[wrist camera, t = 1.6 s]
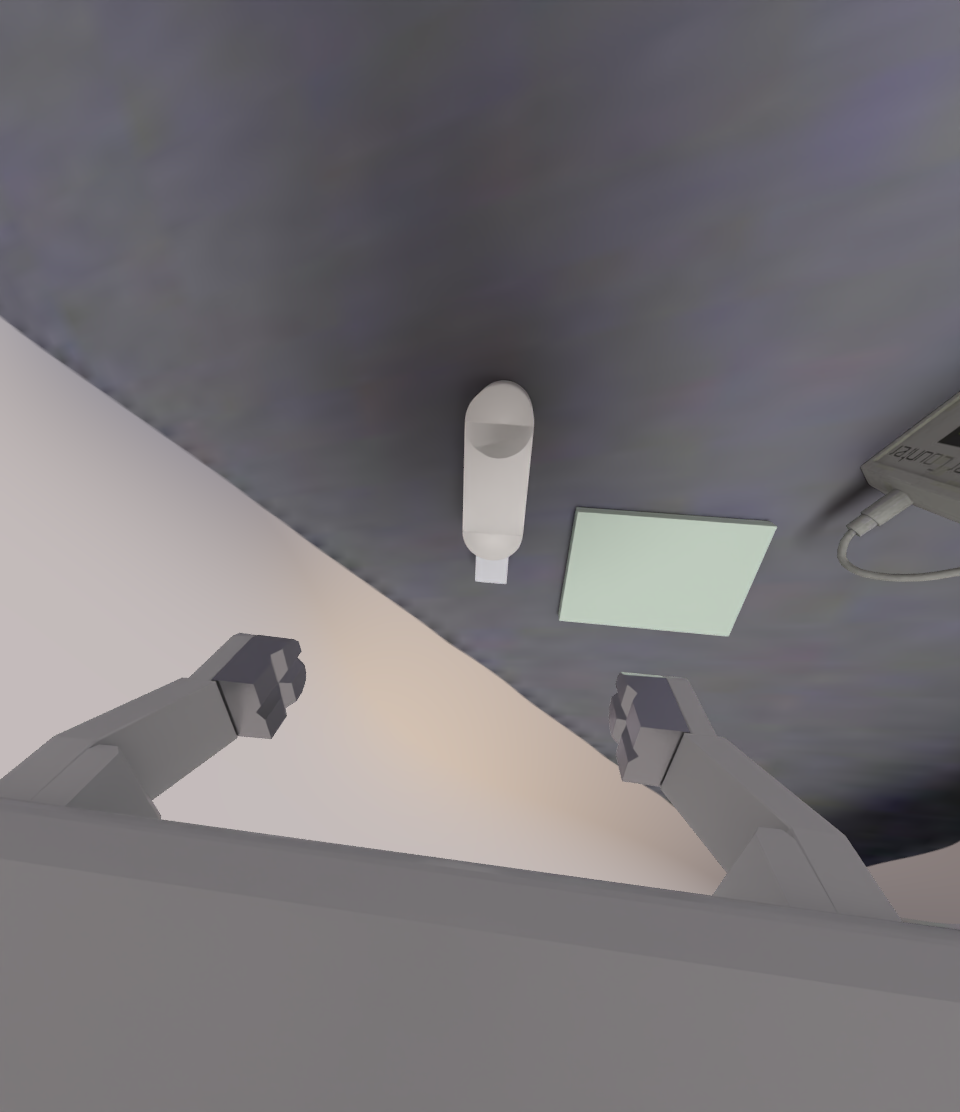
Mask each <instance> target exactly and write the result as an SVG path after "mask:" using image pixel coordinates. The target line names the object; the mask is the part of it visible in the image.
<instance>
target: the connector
mask: <svg viewBox="0 0 960 1112" xmlns="http://www.w3.org/2000/svg"><path fill="white" fill-rule="evenodd" d="M533 431H534V415H533V408H532V403H531V399H530V397H529V395H528V393H527V392H526V391H525V389H524V388H523V387H521V386H520V385H519V384H517V383H515V382H512V381H508V380H500V381H496V382H493V383H491V384H489V385H488V386H486V387H485V388H484V389H483V390H482V391H481V392H480V393H479V394H478V395H476V396H475V398H474V399H473V400H472V401H471V403H470V405H469V407H468V409H467V412H466V416H465V439H464V488H463V539H464V542H465V544H466V546H467V547H468V549H469V550H470V551H471V552H472V553H473V554H475V555H476V572H475V581H477V582H489V583H500V584H506V581H507V569H508V558H509V556H511V555H512V554H513V553H514V552H515V551H516V550H517V549H518V548H519V546H520V544H521V542H522V537H523V528H524V519H525V509H526V499H527V489H528V480H529V470H530V460H531V450H532V441H533Z"/></svg>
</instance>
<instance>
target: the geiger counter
mask: <svg viewBox="0 0 960 1112" xmlns="http://www.w3.org/2000/svg"><path fill="white" fill-rule="evenodd" d="M861 469H862V472H863V474H864V476H865V478H866V480H867V482H868V484H869V485H871V486H872V487H874V488H876V489H878V490H879V491H881V492H883V493H884V494H886V495H885V496H883V497H882V498H880V499H879V500H878V501H876V502H875V503H873V504H872V505H871V506H869V507H868V508H866V509H865V510H863V511H862V512H861V514H862V515H860V516H859V517H857V518H856V519H855V520H853V521H852V522H850V523H849V524H847V525H846V527H847V528H848V529H849V530H848V531H847V532H846V533H845V535H844V536H843V538H842V539H841V540H840V543H839V546H838V550H837V558H838V560H839V562H840V563H841V565H842V566H843V567H844V568H846V569H847V570H848V571H850V572H852V573H854V574H856V575H859V576H862V577H867V578H872V579H878V580H885V581H927V580H936V579H943V578H949V577H955V576H960V567H959V568H953V569H948V570H943V571H937V572H929V573H921V574H886V573H878V572H872V571H867V570H863V569H860V568H858V567H856V566H854V565H853V564H851V563H850V562H849V560H848V559H847V557H846V550H847V547H848V544H849V542H850V540H851V539H852V538H853V536H854V535H855V534H856V535H857V536H862V535H863V534H865V533H866V532H868V531H869V530H871V529H872V528H874V527H875V526H881V525H882V524H884V523H885V522H887V521H888V520H890V519H891V518H893V517H894V516H896V515H897V514H898V513H900V512H901V511H903V510H904V509H906V508H907V507H909V506H910V505H914V506H917V507H919V508H922V509H924V510H927V511H930V512H932V513H935V514H937V515H940V516H942V517H945V518H947V519H950V520H952V521H955V522H958V523H960V392H959V393H957V394H956V395H955V396H953V397H952V398H951V399H949V400H948V401H947V402H945V403H944V404H943V405H941V406H940V407H939V408H937V409H936V410H935V411H933V412H932V413H931V414H929V415H928V416H927V417H925V418H924V419H923V420H921V421H920V422H919V423H918V424H916V425H915V426H914V427H912V428H911V429H910V430H908V431H907V432H906V433H904V434H903V435H902V436H900V437H899V438H898V439H896V440H895V441H894V442H892V443H891V444H890V445H888V446H887V447H886V448H884V449H883V450H882V451H880V452H879V453H878V454H876V455H875V456H874V457H872V458H871V459H870V460H869V461H867V462H866V463H865V464H863V465H862V466H861Z"/></svg>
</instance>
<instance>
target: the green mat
mask: <svg viewBox="0 0 960 1112" xmlns="http://www.w3.org/2000/svg"><path fill="white" fill-rule="evenodd" d="M776 528H777V526H776V525H774V524H773V523H771V522H770V521H761V520H747V519H733V518H720V517H706V516H692V515H679V514H665V513H651V512H638V511H624V510H611V509H597V508H583V507H576V512H575V518H574V523H573V529H572V535H571V541H570V547H569V553H568V559H567V565H566V571H565V577H564V583H563V589H562V595H561V601H560V606H559V612H558V615H559V621H569V622H580V623H591V624H601V625H612V626H623V627H633V628H644V629H655V630H665V631H676V632H687V633H697V634H708V635H719V636H729V634H730V632H731V630H732V627H733V625H734V623H735V621H736V618H737V616H738V614H739V612H740V609H741V607H742V605H743V603H744V600H745V598H746V596H747V594H748V591H749V589H750V587H751V584H752V582H753V580H754V578H755V575H756V573H757V571H758V569H759V566H760V564H761V562H762V560H763V557H764V555H765V553H766V551H767V548H768V546H769V544H770V542H771V539H772V537H773V535H774V533H775V530H776Z"/></svg>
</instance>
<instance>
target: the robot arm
mask: <svg viewBox="0 0 960 1112" xmlns="http://www.w3.org/2000/svg"><path fill="white" fill-rule="evenodd" d="M300 653H301V648H300V645H299V642H298V641H296V640H294V639H287V638H279V637H271V636H263V635H251V634H243V633H239V634H236V635H233V636H232V637H231V638H230V639H229V640H228V641H227V642H226V643H225V644H224V645H223V646H222V647H221V648H220V649H218V650H217V652H215V653H214V655H212V656H211V657H210V658H209V659H208V660H207V661H206V662H205V663H204V664H203V665H202V666H201V667H200V668H199V669H198V670H197V671H196V672H194V674H192V675H191V676H190V677H189V678H181V679H178V680H176V681H174V682H172V683H170V684H168V685H165V686H163V687H161V688H159V689H156V690H154V691H152V692H150V693H148V694H145V695H143V696H141V697H139V698H137V699H135V700H132V701H130V702H128V703H126V704H124V705H122V706H119V707H117V708H115V709H113V710H111V711H108V712H106V713H104V714H102V715H99V716H97V717H96V718H93V719H91V720H89V721H86V722H84V723H82V724H80V725H77V726H75V727H73V728H71V729H69V730H67V731H64V732H63V733H60V734H58V735H56V736H54V737H52V738H51V739H50V740H49V741H47V742H46V743H45V744H44V745H42V746H41V747H40V748H39V749H38V750H36V751H35V752H34V753H33V754H31V755H30V756H29V757H28V758H26V759H25V760H24V761H23V762H22V763H20V764H19V765H18V766H17V767H15V768H14V769H13V770H12V771H10V772H9V773H8V774H7V775H5V776H4V777H3V778H2V779H0V1112H960V930H957V929H949V928H942V927H935V926H928V925H920V924H913V923H906V922H902V920H901V919H900V917H899V916H898V915H897V913H896V911H895V910H894V908H893V907H892V905H891V904H890V902H889V901H888V899H887V898H886V897H885V895H884V893H883V892H882V890H881V889H880V887H879V886H878V884H877V883H876V881H875V880H874V878H873V877H872V875H871V874H870V872H869V871H868V869H867V868H866V866H865V865H864V863H863V862H862V860H861V859H860V857H859V856H858V854H857V853H856V851H855V850H854V848H853V847H852V845H851V844H850V842H849V841H848V839H847V838H846V836H845V835H844V834H842V833H841V832H840V831H839V830H837V829H836V828H835V827H834V826H832V825H831V824H830V823H829V822H828V821H826V820H825V819H824V818H823V817H821V816H820V815H819V814H818V813H817V812H815V811H814V810H813V809H812V808H810V807H809V806H808V805H807V804H805V803H804V802H803V801H802V800H801V799H799V798H798V797H797V796H796V795H794V794H793V793H792V792H791V791H790V790H788V789H787V788H786V787H785V786H783V785H782V784H781V783H780V782H778V781H777V780H776V779H775V778H774V777H772V776H771V775H770V774H769V773H767V772H766V771H765V770H764V769H763V768H761V767H760V766H759V765H758V764H756V763H755V762H754V761H753V760H751V759H750V758H749V757H748V756H747V755H745V754H744V753H743V752H742V751H740V750H739V749H738V748H737V747H736V746H734V745H733V744H732V743H731V742H729V741H728V740H727V739H726V738H724V737H717V735H716V733H715V731H714V729H713V727H712V725H711V723H710V721H709V719H708V717H707V715H706V714H705V712H704V710H703V708H702V706H701V704H700V702H699V700H698V698H697V696H696V694H695V692H694V690H693V688H692V686H691V684H690V683H689V681H688V680H687V679H686V678H682V677H671V676H657V675H646V674H635V673H625V672H620V673H619V675H618V676H617V680H616V683H615V684H616V688H617V692H618V693H616V694H615V695H614V696H612V697H611V702H610V706H609V726H610V731H611V736H612V738H613V739H614V740H615V741H616V742H617V743H618V748H617V751H616V758H617V762H618V766H619V770H620V774H621V778H622V781H625V782H632V783H638V784H645V785H652V786H659V787H661V788H660V789H661V790H662V792H663V793H664V794H665V795H666V797H667V798H668V799H669V800H670V802H671V803H672V804H673V805H674V807H675V808H676V809H677V810H678V812H679V813H680V814H681V816H682V817H683V818H684V819H685V821H686V822H687V823H688V824H689V826H690V827H691V828H692V829H693V831H694V832H695V833H696V835H697V836H698V837H699V838H700V840H701V841H702V842H703V843H704V845H705V846H706V847H707V848H708V850H709V851H710V852H711V853H712V855H713V856H714V857H715V858H716V860H717V861H718V862H719V864H720V865H721V866H722V867H723V869H724V870H725V871H726V872H727V874H726V876H725V877H724V879H723V880H722V882H721V883H720V885H719V886H718V888H717V889H716V891H715V892H714V894H713V895H712V896H710V895H703V894H696V893H688V892H681V891H674V890H667V889H660V888H652V887H645V886H638V885H630V884H623V883H616V882H609V881H602V880H594V879H587V878H580V877H573V876H565V875H558V874H551V873H544V872H537V871H530V870H522V869H515V868H508V867H500V866H494V865H486V864H479V863H472V862H464V861H458V860H451V859H443V858H436V857H429V856H422V855H414V854H407V853H399V852H393V851H385V850H378V849H371V848H364V847H356V846H349V845H341V844H334V843H326V842H320V841H312V840H305V839H298V838H290V837H284V836H276V835H268V834H262V833H254V832H247V831H240V830H233V829H226V828H218V827H210V826H203V825H196V824H190V823H182V822H175V821H168V820H161V815H160V813H159V811H158V810H157V808H156V807H155V805H154V804H153V802H152V800H153V799H154V798H156V797H157V796H159V794H161V793H163V792H164V791H165V790H167V789H168V788H169V787H171V786H172V785H174V784H175V783H176V782H178V781H179V780H180V779H182V778H183V777H184V776H186V775H187V774H189V773H190V772H191V771H192V770H194V769H195V768H197V767H198V766H200V765H201V764H202V763H204V762H205V761H206V760H208V759H209V758H211V757H212V756H213V755H215V754H216V753H217V752H218V751H220V750H221V749H223V748H224V747H226V746H227V745H228V744H230V743H231V742H232V741H234V740H235V739H236V738H237V736H244V737H255V738H267V739H272V737H273V736H274V734H275V733H276V731H277V730H278V728H279V727H280V725H281V724H282V722H283V721H284V719H285V718H286V716H287V715H286V707H288V706H289V705H291V704H293V703H294V702H296V701H297V699H298V698H299V696H300V694H301V693H302V691H303V687H304V684H305V681H306V670H305V665H304V664H303V663H302V662H301V661H300V660H299V659H298V658H297V657H298V656H299V654H300Z"/></svg>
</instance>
